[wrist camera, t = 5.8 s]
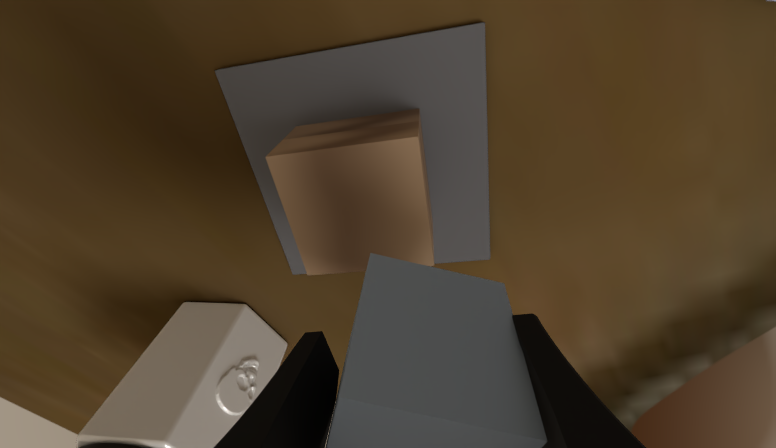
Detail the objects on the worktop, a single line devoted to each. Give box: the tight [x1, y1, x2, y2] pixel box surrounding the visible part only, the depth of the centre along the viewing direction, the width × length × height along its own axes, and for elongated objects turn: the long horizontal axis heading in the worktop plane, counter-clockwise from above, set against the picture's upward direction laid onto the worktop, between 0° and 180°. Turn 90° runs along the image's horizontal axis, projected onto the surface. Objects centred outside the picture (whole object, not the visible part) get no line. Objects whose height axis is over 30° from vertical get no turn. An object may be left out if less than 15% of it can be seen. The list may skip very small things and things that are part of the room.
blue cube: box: [326, 253, 547, 448], centre depth 11 cm, size 4×4×5 cm
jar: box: [76, 302, 287, 448], centre depth 22 cm, size 9×8×12 cm
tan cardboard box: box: [283, 109, 433, 234], centre depth 18 cm, size 6×6×2 cm
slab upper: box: [265, 121, 434, 275], centre depth 16 cm, size 6×6×2 cm
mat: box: [215, 22, 490, 274], centre depth 19 cm, size 12×12×1 cm
